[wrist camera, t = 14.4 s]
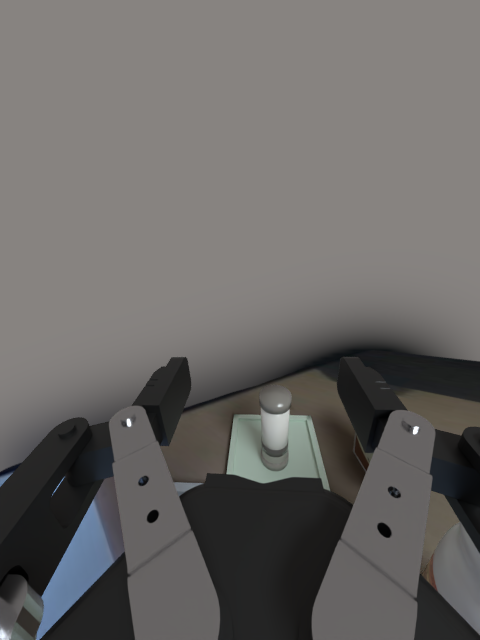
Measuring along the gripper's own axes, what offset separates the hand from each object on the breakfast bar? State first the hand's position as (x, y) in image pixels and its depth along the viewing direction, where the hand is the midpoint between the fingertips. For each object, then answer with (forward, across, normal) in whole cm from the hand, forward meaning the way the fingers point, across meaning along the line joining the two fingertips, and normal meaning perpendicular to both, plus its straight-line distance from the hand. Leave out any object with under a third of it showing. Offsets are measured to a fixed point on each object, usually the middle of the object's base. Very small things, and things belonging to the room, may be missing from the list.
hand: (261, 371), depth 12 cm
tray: (+18, -2, +32) cm, 37 cm away
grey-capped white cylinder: (+18, -2, +31) cm, 36 cm away
